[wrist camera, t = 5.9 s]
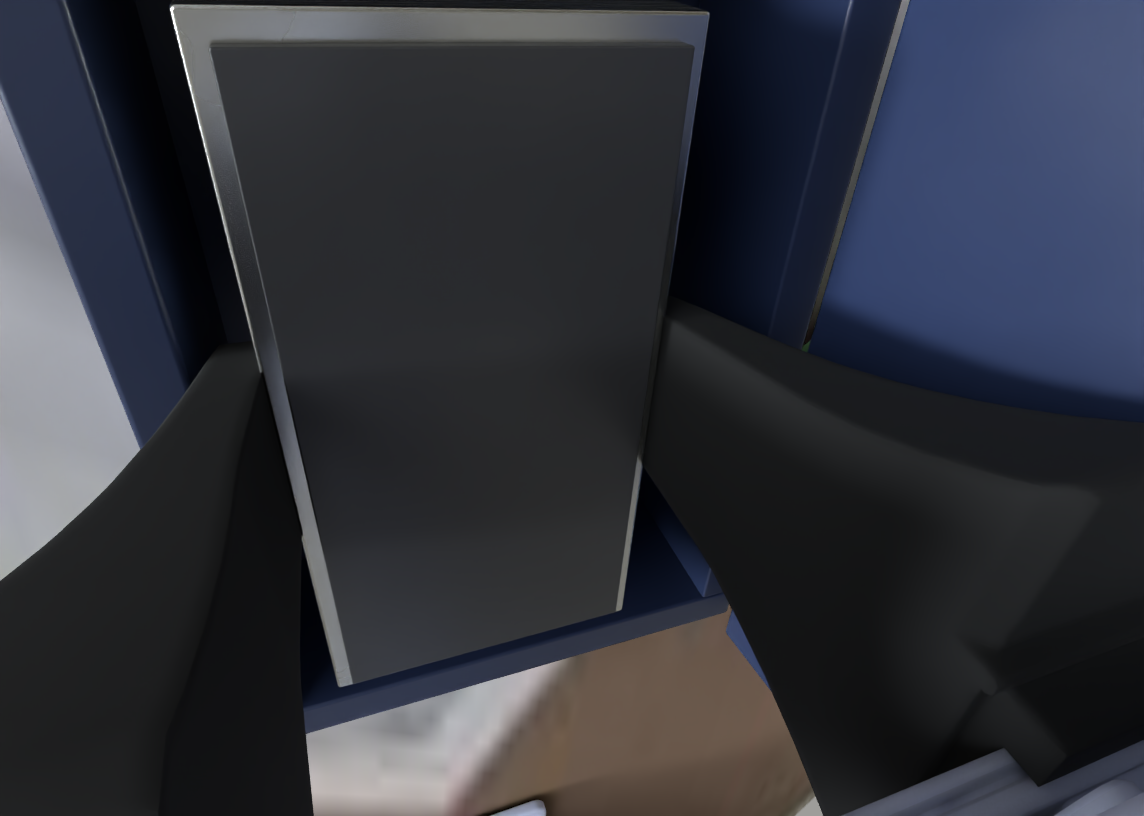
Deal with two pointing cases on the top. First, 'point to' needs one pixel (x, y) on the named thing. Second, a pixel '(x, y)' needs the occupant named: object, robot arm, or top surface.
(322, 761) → the top surface
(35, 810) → the robot arm
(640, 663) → the top surface
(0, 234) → the top surface
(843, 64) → the dark blue box
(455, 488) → the phone
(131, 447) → the top surface
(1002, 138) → the cover
